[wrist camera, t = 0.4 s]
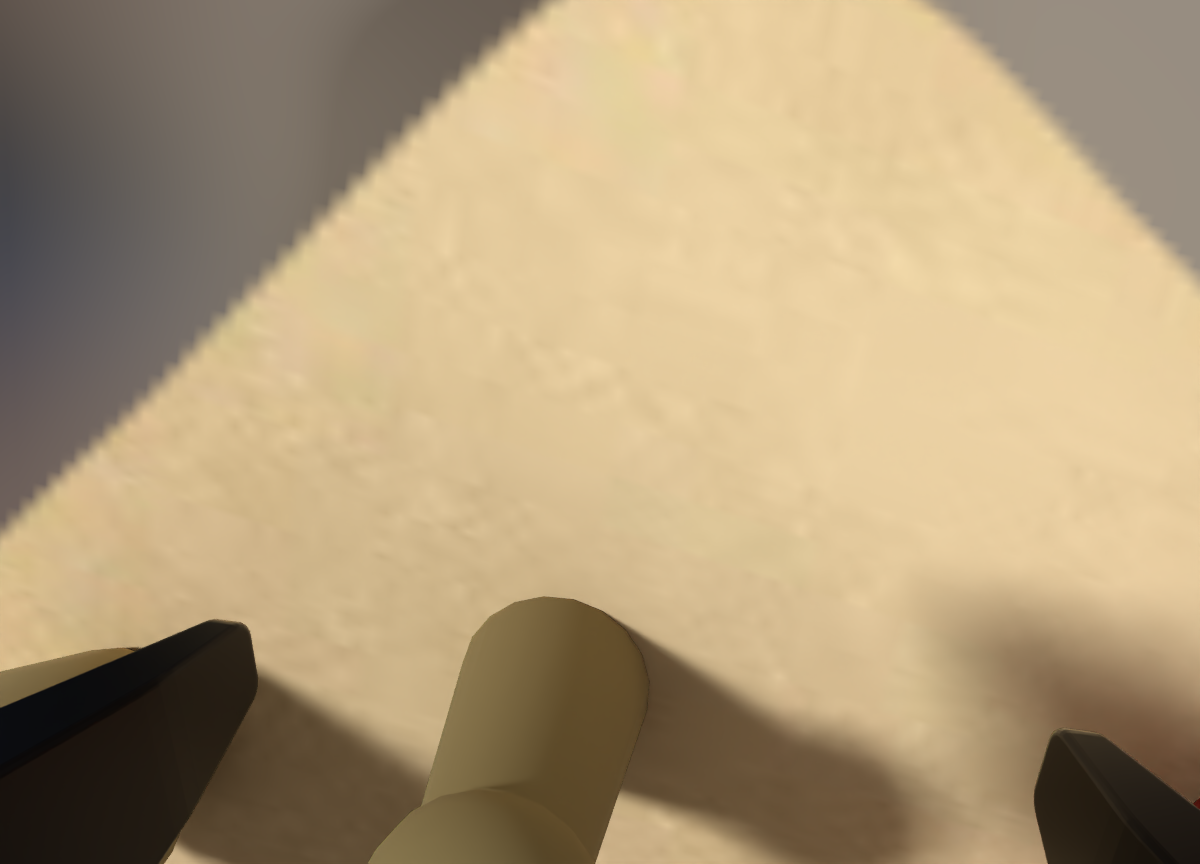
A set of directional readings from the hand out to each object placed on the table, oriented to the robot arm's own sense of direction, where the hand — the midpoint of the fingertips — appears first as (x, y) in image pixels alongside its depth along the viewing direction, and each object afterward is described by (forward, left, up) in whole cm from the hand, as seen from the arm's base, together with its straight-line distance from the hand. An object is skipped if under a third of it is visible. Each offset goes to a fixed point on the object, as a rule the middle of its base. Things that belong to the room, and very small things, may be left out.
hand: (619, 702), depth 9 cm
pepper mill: (-7, -6, -15) cm, 17 cm away
